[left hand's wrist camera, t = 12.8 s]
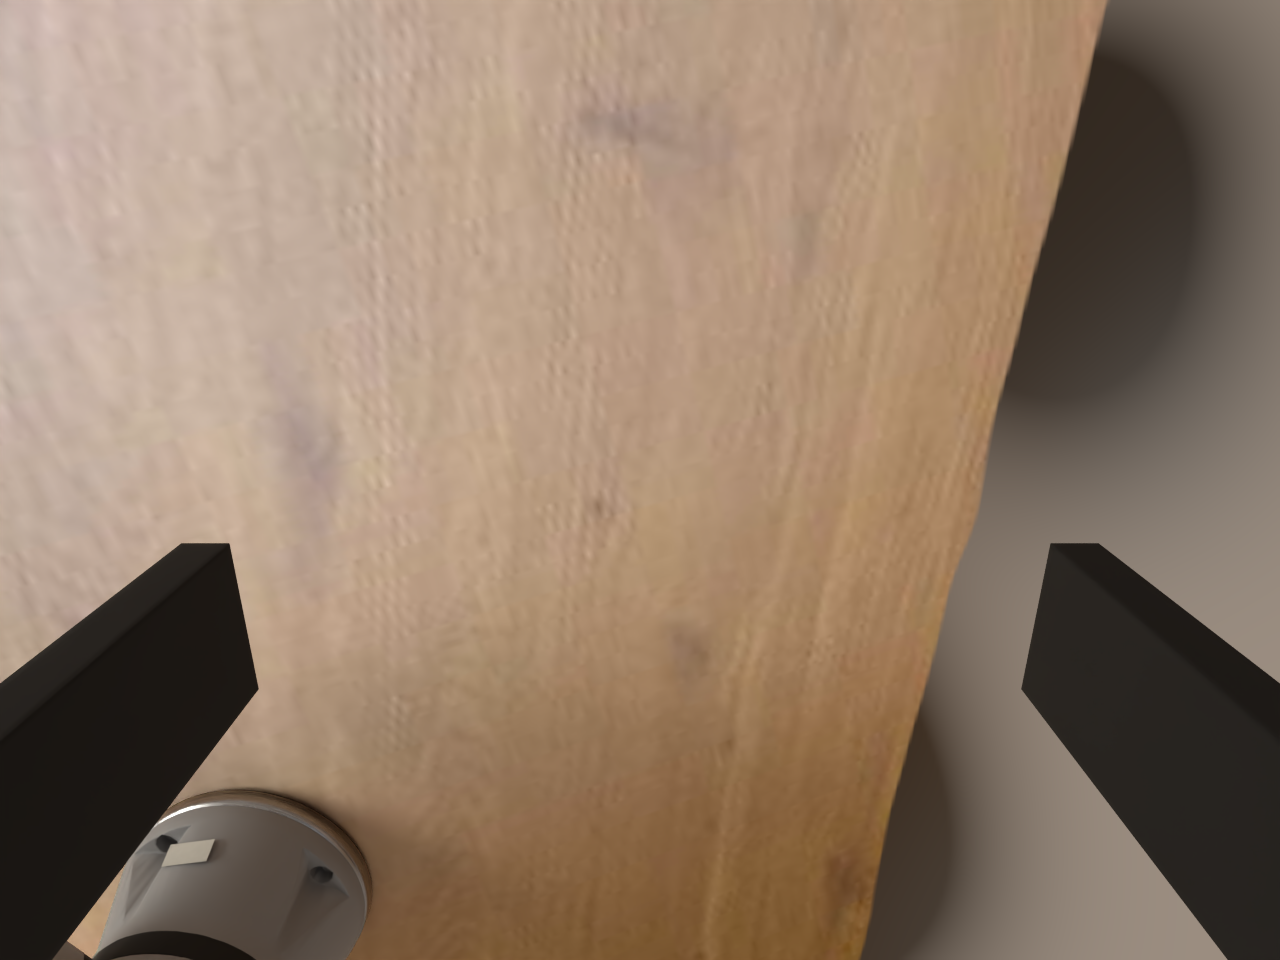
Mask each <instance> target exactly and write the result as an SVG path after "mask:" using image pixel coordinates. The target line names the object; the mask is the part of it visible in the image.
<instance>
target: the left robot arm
mask: <svg viewBox="0 0 1280 960" xmlns="http://www.w3.org/2000/svg"><path fill="white" fill-rule="evenodd" d="M1022 690H1023V692H1024V693H1025V694H1026V696H1027V697H1028V698H1029V700H1030V701H1031V702H1032V704H1033V705H1034V706H1035V708H1036V709H1037V710H1038V712H1039V713H1040V714H1041V715H1042V717H1043V718H1044V719H1045V721H1046V722H1047V723H1048V725H1049V726H1050V727H1051V729H1052V730H1053V731H1054V733H1055V734H1056V735H1057V736H1058V738H1059V739H1060V740H1061V742H1062V743H1063V744H1064V746H1065V747H1066V748H1067V750H1068V751H1069V752H1070V754H1071V755H1072V756H1073V757H1074V759H1075V760H1076V761H1077V763H1078V764H1079V765H1080V767H1081V768H1082V769H1083V771H1084V772H1085V773H1086V774H1087V776H1088V777H1089V778H1090V780H1091V781H1092V782H1093V784H1094V785H1095V786H1096V788H1097V789H1098V790H1099V792H1100V793H1101V794H1102V795H1103V797H1104V798H1105V799H1106V801H1107V802H1108V803H1109V805H1110V806H1111V807H1112V809H1113V810H1114V811H1115V812H1116V814H1117V815H1118V816H1119V818H1120V819H1121V820H1122V822H1123V823H1124V824H1125V826H1126V827H1127V828H1128V830H1129V831H1130V832H1131V834H1132V835H1133V836H1134V837H1135V839H1136V840H1137V841H1138V843H1139V844H1140V845H1141V847H1142V848H1143V849H1144V851H1145V852H1146V853H1147V854H1148V856H1149V857H1150V858H1151V860H1152V861H1153V862H1154V864H1155V865H1156V866H1157V868H1158V869H1159V870H1160V872H1161V873H1162V874H1163V875H1164V877H1165V878H1166V879H1167V881H1168V882H1169V883H1170V885H1171V886H1172V887H1173V889H1174V890H1175V891H1176V893H1177V894H1178V895H1179V896H1180V898H1181V899H1182V900H1183V902H1184V903H1185V904H1186V906H1187V907H1188V908H1189V910H1190V911H1191V912H1192V913H1193V915H1194V916H1195V917H1196V919H1197V920H1198V921H1199V923H1200V924H1201V925H1202V927H1203V928H1204V929H1205V931H1206V932H1207V933H1208V934H1209V936H1210V937H1211V938H1212V940H1213V941H1214V942H1215V944H1216V945H1217V946H1218V948H1219V949H1220V950H1221V951H1222V953H1223V954H1224V955H1225V957H1226V958H1227V959H1228V960H1280V683H1278V682H1277V681H1276V680H1275V679H1273V678H1272V677H1271V676H1269V675H1268V674H1267V673H1266V672H1264V671H1263V670H1262V669H1260V668H1259V667H1258V666H1256V665H1255V664H1254V663H1253V662H1251V661H1250V660H1249V659H1247V658H1246V657H1245V656H1244V655H1242V654H1241V653H1240V652H1238V651H1237V650H1236V649H1234V648H1233V647H1232V646H1231V645H1229V644H1228V643H1227V642H1225V641H1224V640H1223V639H1222V638H1220V637H1219V636H1218V635H1216V634H1215V633H1214V632H1213V631H1211V630H1210V629H1208V628H1207V627H1206V626H1205V625H1203V624H1202V623H1201V622H1199V621H1198V620H1197V619H1196V618H1194V617H1193V616H1192V615H1191V614H1189V613H1188V612H1187V611H1185V610H1184V609H1183V608H1181V607H1180V606H1179V605H1178V604H1176V603H1175V602H1174V601H1172V600H1171V599H1170V598H1169V597H1167V596H1166V595H1165V594H1163V593H1162V592H1161V591H1159V590H1158V589H1157V588H1156V587H1154V586H1153V585H1152V584H1150V583H1149V582H1148V581H1147V580H1145V579H1144V578H1143V577H1141V576H1140V575H1139V574H1137V573H1136V572H1135V571H1134V570H1132V569H1131V568H1130V567H1128V566H1127V565H1126V564H1125V563H1123V562H1122V561H1121V560H1119V559H1118V558H1117V557H1115V556H1114V555H1113V554H1112V553H1110V552H1109V551H1108V550H1106V549H1105V548H1104V547H1103V546H1101V545H1100V544H1099V543H1051V544H1050V549H1049V554H1048V559H1047V564H1046V569H1045V574H1044V579H1043V584H1042V589H1041V594H1040V599H1039V604H1038V609H1037V614H1036V619H1035V624H1034V629H1033V634H1032V639H1031V644H1030V649H1029V654H1028V659H1027V664H1026V669H1025V674H1024V679H1023V684H1022ZM257 691H258V684H257V679H256V674H255V669H254V664H253V659H252V654H251V649H250V644H249V639H248V634H247V629H246V624H245V619H244V614H243V609H242V604H241V599H240V594H239V589H238V584H237V579H236V574H235V569H234V564H233V559H232V554H231V549H230V544H229V543H181V544H180V545H179V546H177V547H176V548H175V549H174V550H172V551H171V552H170V553H168V554H167V555H166V556H165V557H163V558H162V559H161V560H159V561H158V562H157V563H155V564H154V565H153V566H152V567H150V568H149V569H148V570H146V571H145V572H144V573H143V574H141V575H140V576H139V577H137V578H136V579H135V580H133V581H132V582H131V583H130V584H128V585H127V586H126V587H124V588H123V589H122V590H121V591H119V592H118V593H117V594H115V595H114V596H113V597H111V598H110V599H109V600H108V601H106V602H105V603H104V604H102V605H101V606H100V607H99V608H97V609H96V610H95V611H93V612H92V613H91V614H89V615H88V616H87V617H86V618H84V619H83V620H82V621H80V622H79V623H78V624H77V625H75V626H74V627H73V628H71V629H70V630H69V631H67V632H66V633H65V634H64V635H62V636H61V637H60V638H58V639H57V640H56V641H55V642H53V643H52V644H51V645H49V646H48V647H47V648H45V649H44V650H43V651H42V652H40V653H39V654H38V655H36V656H35V657H34V658H33V659H31V660H30V661H29V662H27V663H26V664H25V665H24V666H22V667H21V668H20V669H18V670H17V671H16V672H14V673H13V674H12V675H11V676H9V677H8V678H7V679H5V680H4V681H3V682H2V683H0V960H345V959H346V958H347V957H348V955H349V954H350V952H351V951H352V949H353V947H354V945H355V943H356V941H357V940H358V938H359V936H360V934H361V932H362V929H363V927H364V924H365V921H366V919H367V916H368V913H369V910H370V906H371V901H372V883H371V878H370V874H369V870H368V868H367V865H366V863H365V861H364V859H363V857H362V855H361V853H360V852H359V850H358V849H357V847H356V846H355V844H354V843H353V842H352V841H351V840H350V838H349V837H348V836H347V835H346V834H345V833H344V832H343V831H342V830H341V829H340V828H338V827H337V826H336V825H335V824H334V823H333V822H331V821H330V820H328V819H327V818H326V817H324V816H323V815H321V814H319V813H318V812H316V811H314V810H312V809H310V808H308V807H306V806H304V805H302V804H300V803H297V802H295V801H293V800H290V799H287V798H284V797H281V796H277V795H273V794H269V793H263V792H257V791H247V790H225V791H216V792H209V793H205V794H201V795H197V796H194V797H191V798H188V799H186V800H184V801H181V802H179V803H177V804H176V805H174V806H172V807H171V808H169V809H168V807H169V806H170V805H171V803H172V802H173V801H174V799H175V798H176V797H177V795H178V794H179V793H180V792H181V790H182V789H183V788H184V786H185V785H186V784H187V782H188V781H189V780H190V778H191V777H192V776H193V774H194V773H195V772H196V771H197V769H198V768H199V767H200V765H201V764H202V763H203V761H204V760H205V759H206V757H207V756H208V755H209V754H210V752H211V751H212V750H213V748H214V747H215V746H216V744H217V743H218V742H219V740H220V739H221V738H222V736H223V735H224V734H225V733H226V731H227V730H228V729H229V727H230V726H231V725H232V723H233V722H234V721H235V719H236V718H237V717H238V715H239V714H240V713H241V712H242V710H243V709H244V708H245V706H246V705H247V704H248V702H249V701H250V700H251V698H252V697H253V696H254V694H255V693H256V692H257ZM167 809H168V810H167ZM126 862H127V863H126ZM125 864H126V865H125ZM124 865H125V868H124V870H123V873H122V876H121V880H120V883H119V886H118V889H117V892H116V895H115V898H114V901H113V904H112V907H111V910H110V913H109V916H108V919H107V922H106V925H105V928H104V931H103V934H102V937H101V940H100V943H99V946H98V950H97V952H96V953H95V955H94V956H93V958H92V959H91V958H90V957H88V956H87V955H85V954H84V953H83V952H82V951H80V950H79V949H78V948H76V947H75V946H73V945H72V944H70V943H69V942H68V941H67V940H68V938H69V937H70V936H71V934H72V933H73V932H74V931H75V929H76V928H77V927H78V925H79V924H80V923H81V921H82V920H83V919H84V917H85V916H86V915H87V913H88V912H89V911H90V910H91V908H92V907H93V906H94V904H95V903H96V902H97V900H98V899H99V898H100V896H101V895H102V894H103V893H104V891H105V890H106V889H107V887H108V886H109V885H110V883H111V882H112V881H113V879H114V878H115V877H116V875H117V874H118V873H119V872H120V870H121V869H122V868H123V866H124Z"/></svg>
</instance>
